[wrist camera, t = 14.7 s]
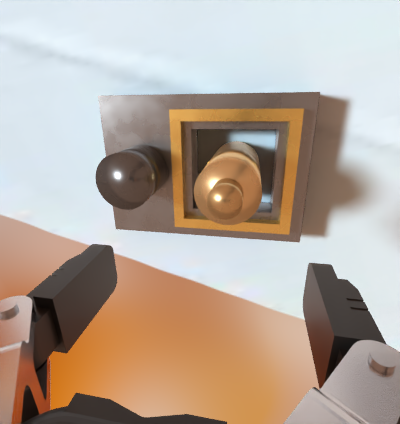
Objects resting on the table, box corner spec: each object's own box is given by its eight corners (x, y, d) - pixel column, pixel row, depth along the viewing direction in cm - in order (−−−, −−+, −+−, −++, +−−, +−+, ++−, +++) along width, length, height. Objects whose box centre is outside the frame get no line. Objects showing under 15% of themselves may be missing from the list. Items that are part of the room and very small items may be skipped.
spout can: (261, 141, 28) (265, 167, 17) (257, 188, 30) (260, 239, 19) (212, 141, 29) (187, 165, 18) (211, 187, 31) (188, 234, 20)
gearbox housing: (313, 92, 26) (335, 90, 19) (295, 229, 31) (308, 269, 24) (112, 96, 29) (65, 94, 22) (127, 218, 35) (92, 250, 27)
